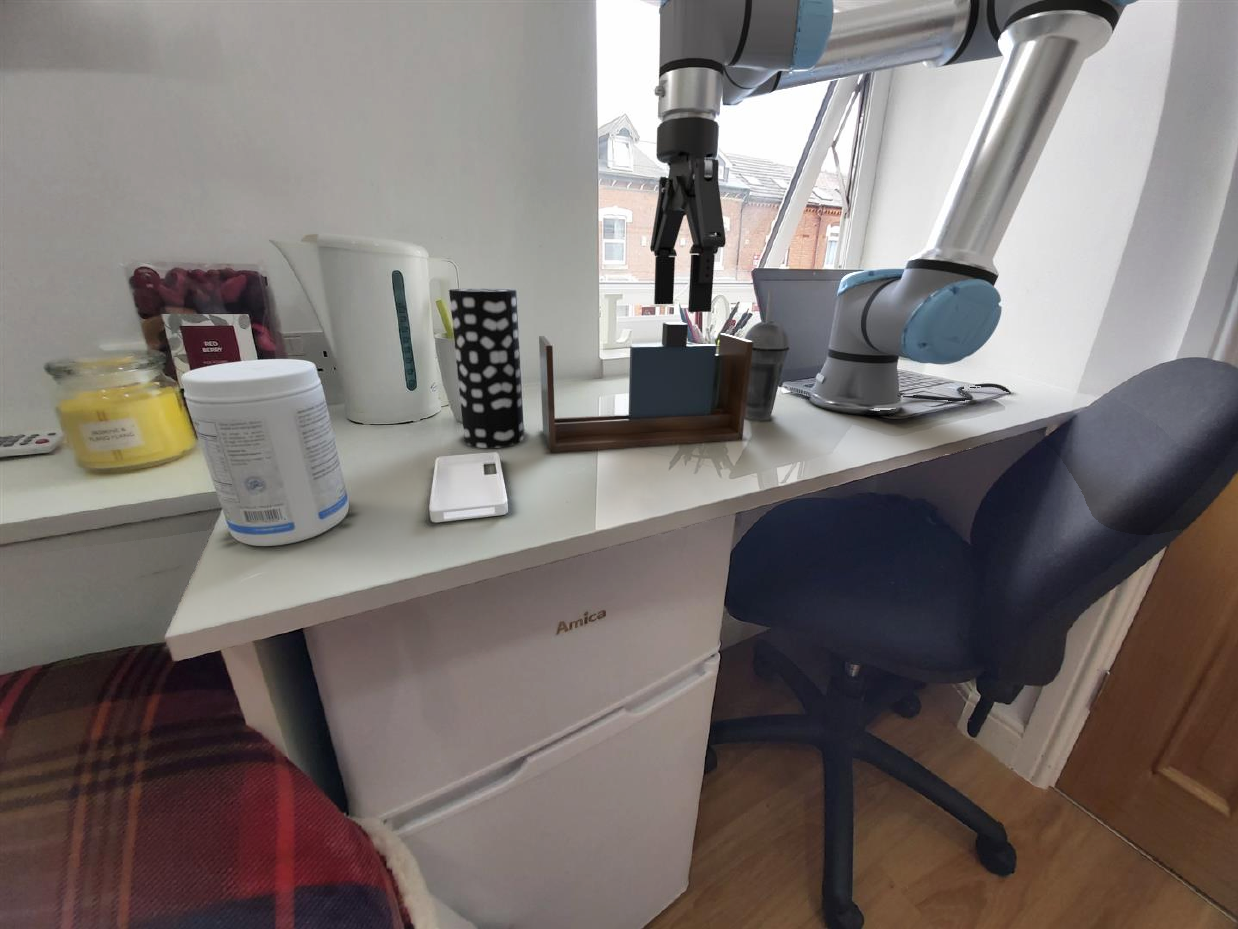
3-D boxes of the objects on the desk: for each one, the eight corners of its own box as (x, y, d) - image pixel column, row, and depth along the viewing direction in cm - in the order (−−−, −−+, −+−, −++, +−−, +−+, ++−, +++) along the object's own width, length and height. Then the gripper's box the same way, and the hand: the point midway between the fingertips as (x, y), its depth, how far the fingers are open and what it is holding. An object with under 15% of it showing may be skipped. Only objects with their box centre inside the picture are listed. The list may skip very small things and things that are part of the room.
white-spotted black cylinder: (510, 450, 66) (499, 292, 59) (453, 445, 68) (436, 290, 60) (532, 432, 74) (525, 289, 66) (480, 427, 75) (468, 288, 68)
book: (705, 422, 76) (713, 322, 70) (710, 426, 74) (720, 323, 69) (627, 426, 73) (629, 322, 67) (631, 431, 71) (633, 324, 66)
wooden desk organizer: (716, 422, 80) (724, 333, 75) (742, 439, 72) (753, 341, 67) (542, 432, 74) (538, 336, 68) (550, 453, 66) (546, 345, 60)
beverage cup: (738, 422, 80) (753, 291, 73) (730, 410, 87) (743, 289, 79) (784, 423, 80) (803, 292, 73) (772, 411, 87) (789, 290, 79)
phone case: (437, 466, 60) (430, 524, 47) (436, 456, 60) (428, 511, 47) (499, 461, 62) (508, 515, 49) (498, 451, 62) (508, 502, 48)
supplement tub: (322, 493, 53) (291, 354, 47) (370, 519, 48) (340, 366, 42) (213, 529, 46) (160, 369, 40) (255, 563, 40) (201, 385, 35)
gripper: (630, 143, 70) (629, 301, 78) (700, 85, 47) (688, 316, 55) (680, 146, 71) (674, 301, 79) (770, 92, 49) (749, 315, 57)
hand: (679, 307), depth 67 cm, fingers open, 13 cm apart
